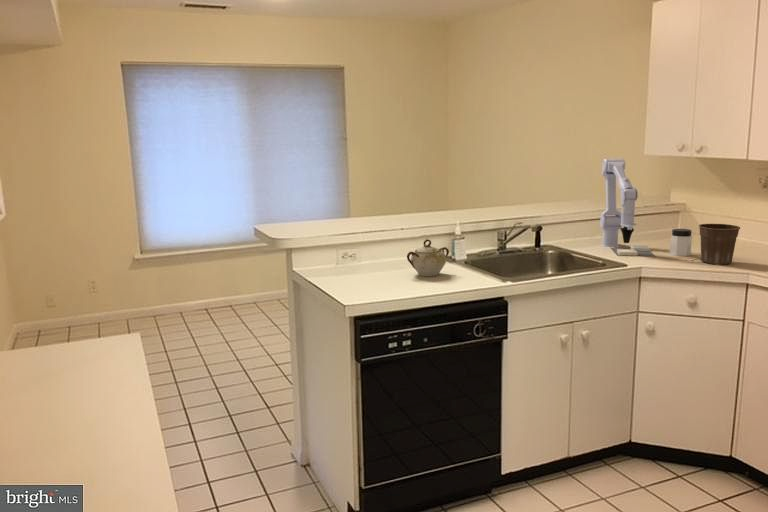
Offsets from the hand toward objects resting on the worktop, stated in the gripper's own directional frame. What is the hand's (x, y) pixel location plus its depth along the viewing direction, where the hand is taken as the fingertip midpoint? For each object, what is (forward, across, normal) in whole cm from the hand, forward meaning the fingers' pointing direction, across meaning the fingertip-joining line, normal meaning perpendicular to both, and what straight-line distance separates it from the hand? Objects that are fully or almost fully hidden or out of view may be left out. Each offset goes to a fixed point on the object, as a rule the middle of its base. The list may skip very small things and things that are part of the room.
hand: (626, 242), depth 303 cm
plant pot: (+6, -17, -35) cm, 39 cm away
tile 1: (+4, 0, 0) cm, 4 cm away
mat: (+5, +3, -4) cm, 7 cm away
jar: (+6, -1, -24) cm, 25 cm away
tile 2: (+5, +8, -8) cm, 13 cm away
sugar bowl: (+6, -54, +88) cm, 103 cm away
